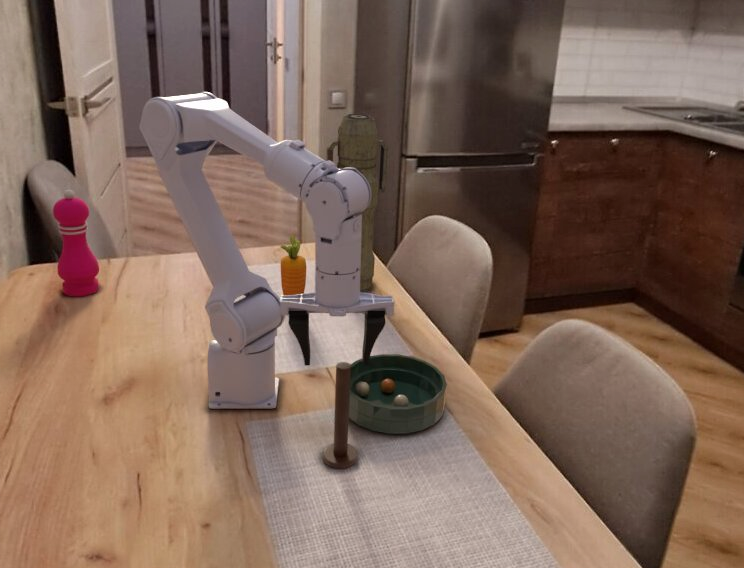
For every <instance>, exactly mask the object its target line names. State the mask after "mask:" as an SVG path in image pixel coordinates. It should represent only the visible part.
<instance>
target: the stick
mask: <svg viewBox="0 0 744 568" xmlns="http://www.w3.org/2000/svg"><path fill="white" fill-rule="evenodd" d="M350 377H351V363H349V362H346V361H340V362H337V364H336V366H335V387H334V388H335V390H334V391H335V392H334V419H333V421H334V422H333V425H334V426H333V443H331V444H328V445H327V446H326V447H325V448H324V450H323V455H322V456H323V457H322V459H323V462H324V463H325V464H326V465H327V466H328V467H329V468H333V469H348V468H350V467H352V466H353V465H355V463H357V460H358V451H357V449H356V447H354V446H353V445H352V444H349V421H350V418H349V401H350Z"/></svg>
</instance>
